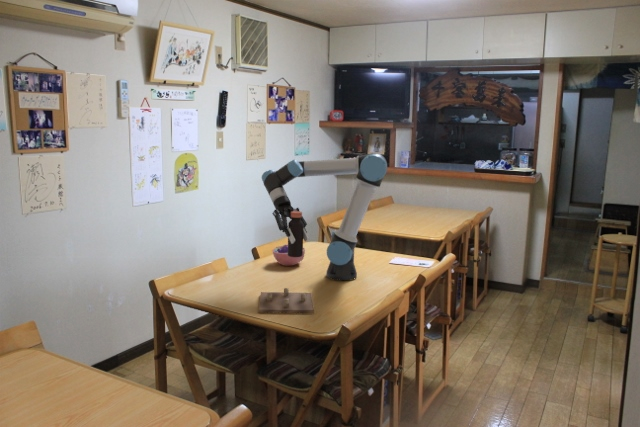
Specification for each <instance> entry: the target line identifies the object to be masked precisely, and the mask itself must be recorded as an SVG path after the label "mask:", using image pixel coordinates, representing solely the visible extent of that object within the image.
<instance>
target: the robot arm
mask: <svg viewBox="0 0 640 427" xmlns="http://www.w3.org/2000/svg"><path fill="white" fill-rule="evenodd" d="M387 172H388V162H387V159H386V158H385V156H383V154H381V153H379V152H372V153H369V154H363V155H357V156H356V157H351V158H350V157H349V158H335V159H321V160H320V159H319V160H318V159H317V160H305V161H304V160H303V161H298V160H297V159H296V158H295V159H292V160H290V161H288V162H287V163H286V164H285V165H284V166H282V167H280V168H279V169H278V170H274V169H269V170H266V171H264V172H263V173H262V175H261V180H262V182H263V186H264V187H265V189H266V191H267V193H268V196H269V198H270V200H271V202H272V204H273V206H274V208H275V209H274V211H272V216H273V217H274V219H275V221H276V224H277V227H278V230H279V231H280V232H281V231H282V233H284V234H285V236H286V237H287V239H288V238H289V240H290V242H291V244H293V243H294V242H295V238H294V236H293V234H292V232H291V230H290V228H288V218H289V219H290V220H291V212H292V211H300V208H299V207H296V208H295V207H293V206H292V202H291V200H290V198H289V196H288V194H287V192H286V191H285V188H284V186H285V185H287V184H288V183H289V182H291V181H293V180H294V179H296V178H305V177H307V178H308V177H320V176H321V177H322V176H339V175H341V176H343V175H356V176H355V179H356V182H357V183H356V186H355V188H354V191H353V192H352V196H351V198H350V199H349V200H350V201H349V204H348V206H347V208H346V211H345V213H344V216H343V219H342V221H341V223H340V226H339V228H338V229H337V230H334V231H332V232H331V236H330V237H331V240H330V242H329V244H328V246H327V248H326V257H327V258H328V260H329V264H328V267H327V270H326V278H328V279H330V280H333V279H334V280H333V281H340V280H348V281H351V280H350V279H354V278H356V277H357V276H358V275H357V269H356V266H355V249H356V246H357V244H358V239H357V234H358V232H359V230H360V227H361V225H362V222H363V220H364V218H365V215H366V212H367V210H368V208H369V205H370V203H371V201H372V198H373V196H374V193H375V191H376V189H379V188H380V187H381V184H382V182H383V180H384V177H385V175H386V174H387ZM301 221H302V222H303V223H304V228H303V242H308V240H310V237H309V236H308V231H307V229H306V227H307V225H308V223H307V221H306V220H305V218H304V217H303V215H302V218H301ZM356 279H357V278H356ZM354 280H355V279H354Z"/></svg>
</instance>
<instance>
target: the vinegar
mask: <svg viewBox="0 0 640 427" xmlns="http://www.w3.org/2000/svg"><path fill="white" fill-rule="evenodd" d="M302 216H303V212H302V211H300V210H299V211H292V212H291V219H290V220H289V221H288V222H287V225H288V228H290V230H291V232H292V234H293V236H294V238H295V242H294V243H293V244H291V242H290V240H289V238H288V237H287V245H288V256H290V257H301V256H302V255H303V248H304V239H303V228H304V223H303V222H302V221H301V218H302Z"/></svg>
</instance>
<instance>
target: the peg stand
mask: <svg viewBox="0 0 640 427" xmlns="http://www.w3.org/2000/svg"><path fill="white" fill-rule="evenodd" d="M289 290H290V289H289V288H288V287H284V288H283V292H279V291H278V292H277V291H273V292H270V291H268V292H267V291H260V297H259V304H258V314H294V313H296V314H297V313H302V314H303V315H304V313H314V314H315V307H314V301H313V296H312V293H311V292H290V291H289ZM297 315H298V314H297Z"/></svg>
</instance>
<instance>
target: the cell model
mask: <svg viewBox="0 0 640 427" xmlns="http://www.w3.org/2000/svg"><path fill="white" fill-rule="evenodd" d="M271 251H272V255H273V257H274V259H275V260H276V262H277V263H278V264H280V265H282V266H285V267H286V266H288V267H290V266H294V265H297V264H298V263H300V262H302V261H303V259H304V258H305V254H306V253H305V252H306V249H305V247H303V255H302V256H301V257H290V256H288V244H284V245H280V246H279V245H278V246H276V247H275V248H273V249H272V250H271Z"/></svg>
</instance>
